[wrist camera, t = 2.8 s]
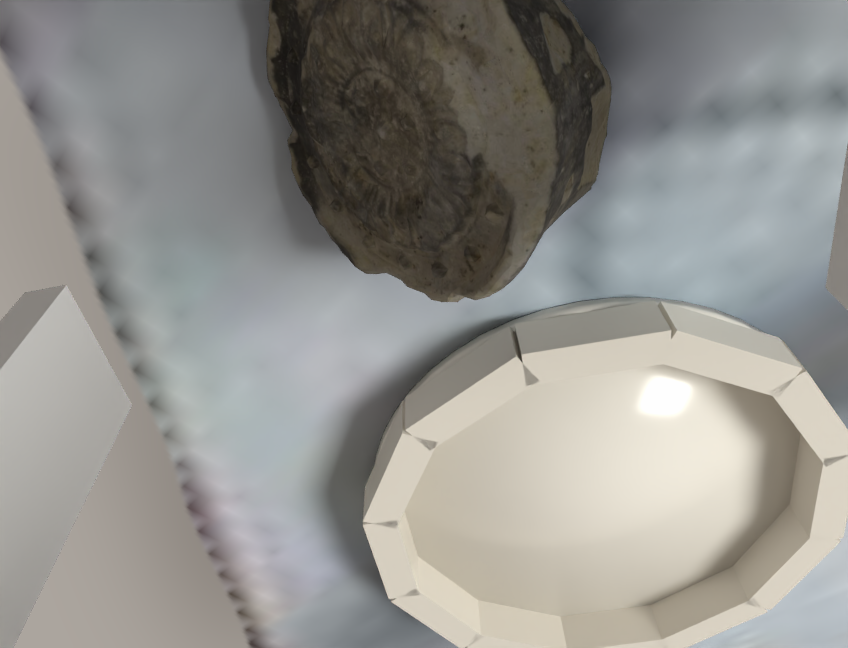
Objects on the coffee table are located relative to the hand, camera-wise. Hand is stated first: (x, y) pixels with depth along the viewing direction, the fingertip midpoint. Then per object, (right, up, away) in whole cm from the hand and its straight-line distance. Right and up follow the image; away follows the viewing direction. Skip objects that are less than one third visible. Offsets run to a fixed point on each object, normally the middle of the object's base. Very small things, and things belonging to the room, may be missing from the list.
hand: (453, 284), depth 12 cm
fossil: (-1, +7, +11) cm, 13 cm away
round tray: (+8, -8, +21) cm, 24 cm away
